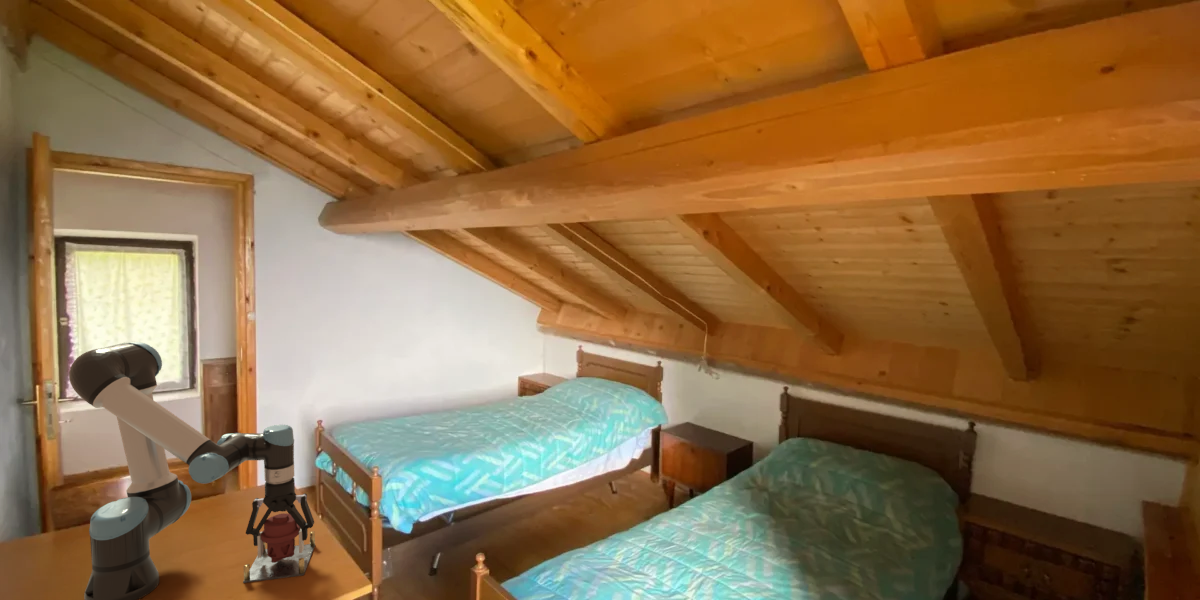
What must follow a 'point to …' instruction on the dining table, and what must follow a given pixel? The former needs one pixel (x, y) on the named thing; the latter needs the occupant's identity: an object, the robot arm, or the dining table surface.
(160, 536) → the dining table surface
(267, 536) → the mechanical component
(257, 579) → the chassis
